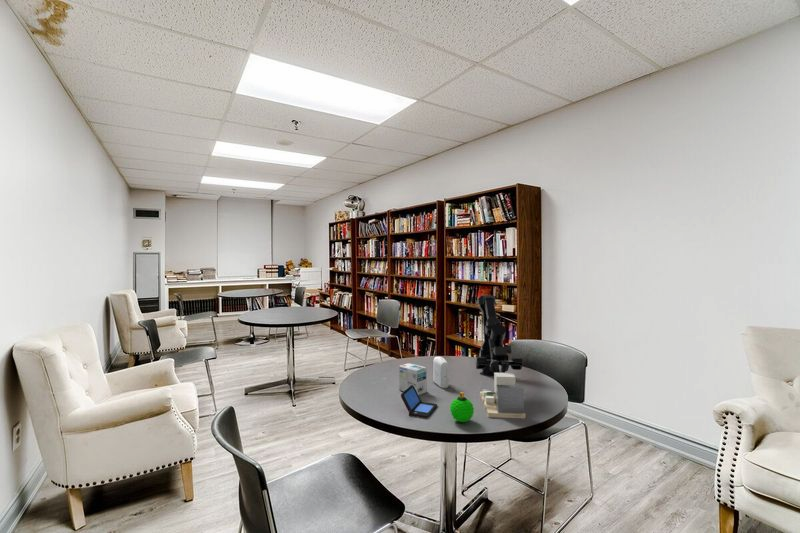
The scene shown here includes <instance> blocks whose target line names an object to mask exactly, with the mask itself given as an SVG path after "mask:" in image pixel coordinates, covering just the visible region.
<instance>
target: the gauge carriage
mask: <svg viewBox="0 0 800 533" xmlns="http://www.w3.org/2000/svg"><path fill="white" fill-rule="evenodd" d="M493 384H494V385H493V386H494V388H493V390H494V391H491V392H487V394H494V398H495V401H496V385H516V376H515V374H514V373H513V372H505V373H501V372H500V373H494V375H493Z"/></svg>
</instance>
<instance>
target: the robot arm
mask: <svg viewBox="0 0 800 533" xmlns="http://www.w3.org/2000/svg"><path fill="white" fill-rule="evenodd" d="M496 302H497V301H496V297H495V296H493V295H491V294H490V295H488V294H486V295H485V294H484V295H483V294H482V295H479V297H478V296H477V305H478V309H479V310H480V312H481V313H482V314H481V315H482V331H483V342H482V344H481V346H480V349H479V353H478V354H479V355H478V356H477V357H476V359H475V360H476V361H475V370H482V371H481V372H479V375H484V376H489V377H494V373H506V372H509V368H511V369H512V370H514V371H520V370H522V369H523V365H524V359H523V358H522V357H512V358H511V360H507V359H508V357H507V356H508V355H511V354H512V345H509V344H507V345H506V346H504V340H505V336H506V332H507V328H506V327H505V326H504V325H503V324H502V322H501V320H500V319H499V318H498V316H497V312H496Z"/></svg>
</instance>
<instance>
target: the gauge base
mask: <svg viewBox="0 0 800 533" xmlns="http://www.w3.org/2000/svg"><path fill="white" fill-rule="evenodd" d="M487 392H492V390H491V389H482V390H481V391H479V395H480V398H481V401H482V402H481V403H482V404H483V407H484V410H485V412H486V416H487V417H488V418H503V419H505V418H506V419H526V418H527V417H526V412H525V411H524V413H498V412H497V409H496V401H495V398H494V394H487Z"/></svg>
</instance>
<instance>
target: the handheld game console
mask: <svg viewBox="0 0 800 533" xmlns="http://www.w3.org/2000/svg"><path fill="white" fill-rule="evenodd" d="M400 397H401V400H402V402H403V404H404V406H405V407H406V410H407V411H408V416H410V417H415V418H421V419H429V417H430V416H432V414H433V413H434V412H435V411H436V409H437V408H438V403H432V402H427V401H426V402H425V401H423V400H422V399H421V397H420V395H418V394H417V392H416V390H415V388H414V386H413V385H411V386H410V387H409V388H408V389H406V390H405V391H402V393H401V394H400Z"/></svg>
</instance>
